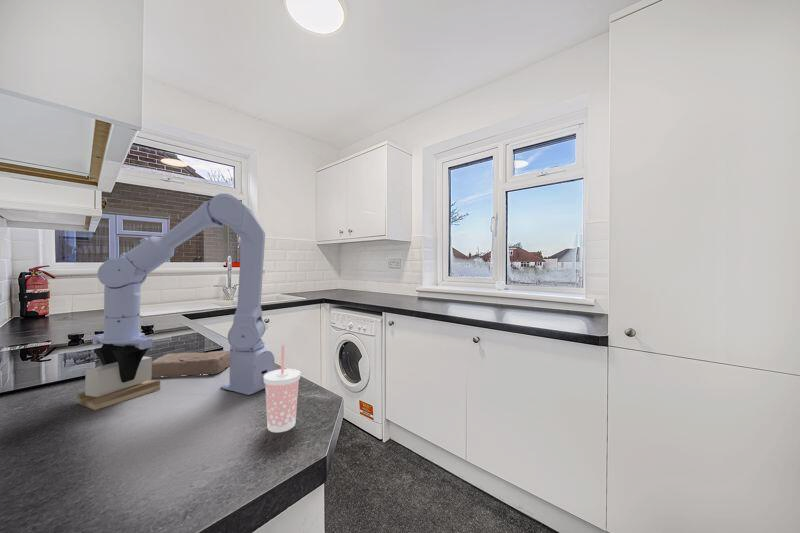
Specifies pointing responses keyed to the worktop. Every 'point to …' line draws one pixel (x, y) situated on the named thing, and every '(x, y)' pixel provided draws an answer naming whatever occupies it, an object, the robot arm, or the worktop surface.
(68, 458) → the worktop surface
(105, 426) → the worktop surface
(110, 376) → the white rectangular block
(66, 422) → the worktop surface
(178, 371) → the brick
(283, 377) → the beverage cup
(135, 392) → the wooden base plate
